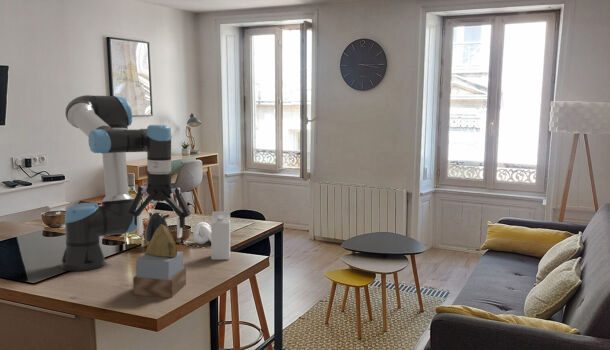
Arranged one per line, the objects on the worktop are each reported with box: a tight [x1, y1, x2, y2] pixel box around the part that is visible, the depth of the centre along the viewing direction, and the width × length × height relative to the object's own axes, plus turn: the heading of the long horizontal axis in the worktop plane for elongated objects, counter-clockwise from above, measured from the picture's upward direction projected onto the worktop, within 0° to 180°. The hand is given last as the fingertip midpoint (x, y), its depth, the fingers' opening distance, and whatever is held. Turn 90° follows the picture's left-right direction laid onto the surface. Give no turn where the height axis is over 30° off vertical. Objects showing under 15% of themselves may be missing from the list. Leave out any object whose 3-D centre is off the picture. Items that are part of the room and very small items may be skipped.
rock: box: [144, 224, 178, 257], centre depth 174 cm, size 11×9×10 cm
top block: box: [135, 251, 184, 280], centre depth 175 cm, size 11×12×6 cm
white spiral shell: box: [192, 221, 211, 245], centre depth 237 cm, size 11×12×9 cm
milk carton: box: [210, 211, 231, 261], centre depth 214 cm, size 7×7×19 cm
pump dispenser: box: [144, 212, 170, 245], centre depth 228 cm, size 10×10×15 cm
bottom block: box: [132, 267, 187, 298], centre depth 176 cm, size 13×13×6 cm
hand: (159, 236), depth 174 cm, fingers open, 13 cm apart
